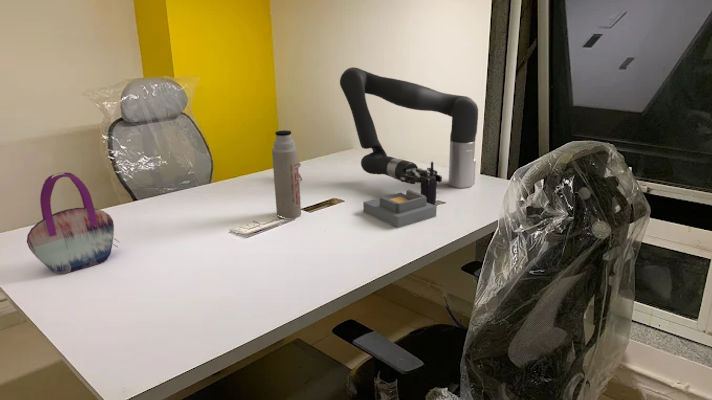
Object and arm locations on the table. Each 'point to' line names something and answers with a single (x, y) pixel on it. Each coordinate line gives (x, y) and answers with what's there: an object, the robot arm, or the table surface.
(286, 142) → the thermos bottle
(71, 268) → the handbag
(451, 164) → the robot arm
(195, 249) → the table surface
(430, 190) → the two-way radio
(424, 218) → the tray
